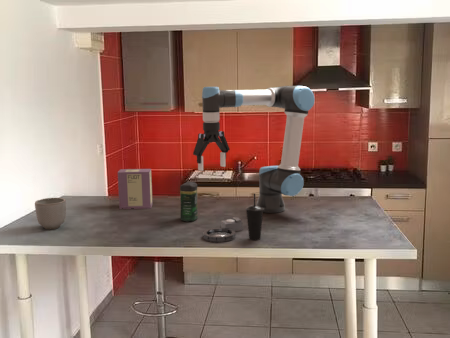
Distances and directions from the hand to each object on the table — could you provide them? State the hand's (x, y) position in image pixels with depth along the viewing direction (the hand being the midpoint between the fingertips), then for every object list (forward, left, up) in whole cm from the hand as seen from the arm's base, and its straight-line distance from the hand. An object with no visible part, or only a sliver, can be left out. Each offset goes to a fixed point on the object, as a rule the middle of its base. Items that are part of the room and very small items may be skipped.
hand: (212, 168), depth 238 cm
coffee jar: (+10, -18, -28) cm, 35 cm away
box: (+38, -48, -29) cm, 67 cm away
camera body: (-8, +2, -28) cm, 30 cm away
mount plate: (-2, +13, -28) cm, 31 cm away
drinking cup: (-17, +17, -28) cm, 37 cm away
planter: (+75, -13, -28) cm, 81 cm away
